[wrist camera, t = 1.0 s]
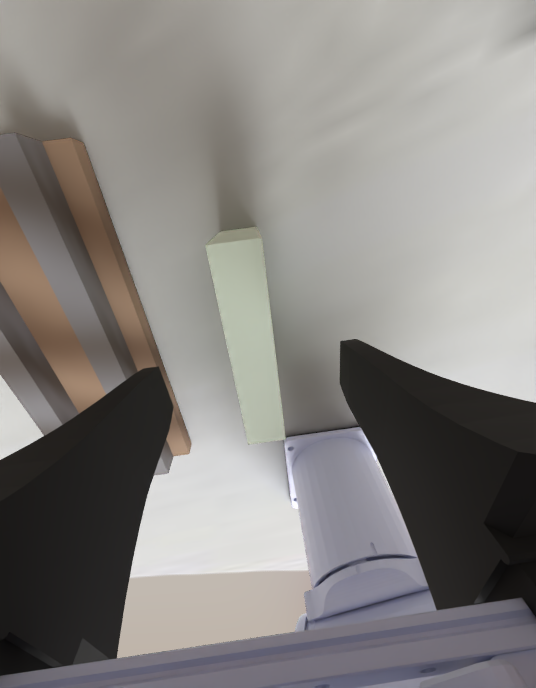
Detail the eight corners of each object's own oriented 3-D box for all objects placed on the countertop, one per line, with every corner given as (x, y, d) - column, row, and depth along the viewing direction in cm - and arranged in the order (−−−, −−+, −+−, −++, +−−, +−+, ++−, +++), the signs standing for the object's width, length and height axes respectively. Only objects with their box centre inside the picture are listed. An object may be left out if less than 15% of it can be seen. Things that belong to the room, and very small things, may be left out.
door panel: (275, 375, 19) (285, 439, 14) (247, 378, 19) (248, 444, 14) (256, 226, 14) (261, 237, 9) (220, 231, 14) (205, 245, 9)
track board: (191, 443, 22) (185, 470, 19) (82, 459, 21) (63, 488, 19) (83, 142, 12) (47, 128, 10) (-112, 167, 12) (-191, 158, 10)
